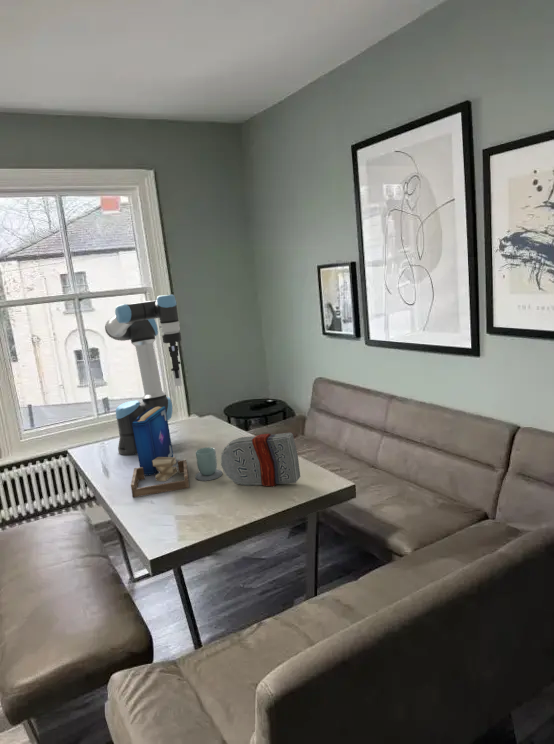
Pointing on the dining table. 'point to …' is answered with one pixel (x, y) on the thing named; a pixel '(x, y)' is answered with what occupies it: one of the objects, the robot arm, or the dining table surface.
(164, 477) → the offcut low
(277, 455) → the decorative stone tablet
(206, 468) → the cup
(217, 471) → the mat
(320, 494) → the dining table surface
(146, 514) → the dining table surface
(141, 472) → the wooden tray
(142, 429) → the book
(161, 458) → the offcut top
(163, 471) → the offcut mid
